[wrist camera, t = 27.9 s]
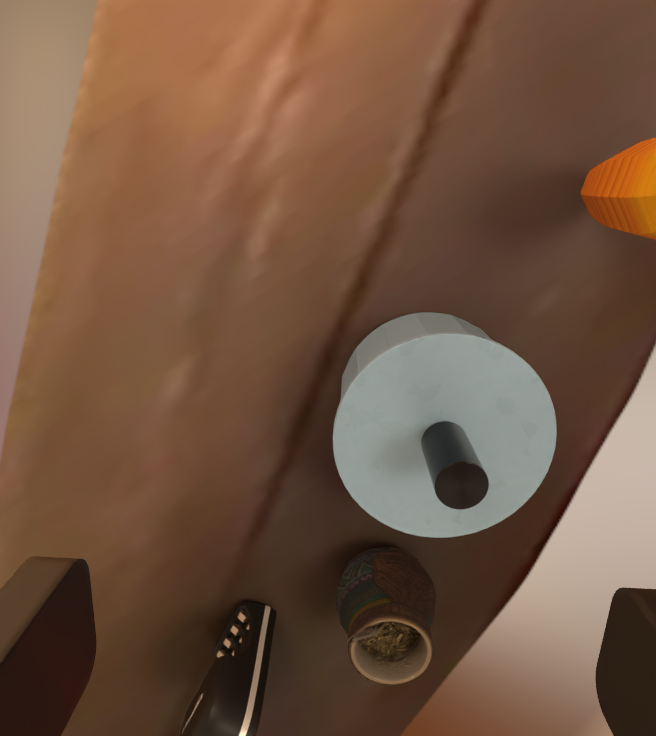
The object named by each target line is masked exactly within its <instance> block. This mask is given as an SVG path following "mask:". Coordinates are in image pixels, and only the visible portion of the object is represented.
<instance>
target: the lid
mask: <svg viewBox="0 0 656 736" xmlns="http://www.w3.org/2000/svg"><path fill="white" fill-rule="evenodd" d="M556 435H557V429H556V417H555V411H554V406H553V404H552V401H551V398H550V395H549V393H548V391H547V389H546V387H545V385H544V383H543V381H542V380H541V379H540V377H539V376H538V375H537V373H536V372H535V371H534V370H533V369H532V368H531V367H530V366H529V364H528V363H527V362H526V361H525V360H523V359H522V358H521V357H520V356H518V355H517V354H516V353H515V352H513V351H512V350H510V349H509V348H507V347H505V346H503V345H501V344H500V343H498V342H495V341H493V340H490V339H487V338H485V337H481V336H477V335H473V334H468V333H459V332H438V333H431V334H424V335H420V336H417V337H413V338H409V339H407V340H405V341H402V342H400V343H397V344H395V345H393V346H391V347H390V348H388V349H386V350H384V351H383V352H381V353H380V354H378V355H377V356H376V357H374V358H373V359H372V360H370V361H369V362H368V363H367V364H366V365H365V366H364V367H363V368H362V369H361V370H360V371H359V372H358V374H357V375H356V376H355V377H354V379H353V380H352V381H351V382H350V384H349V386H348V387H347V389H346V391H345V393H344V394H343V396H342V399H341V401H340V404H339V406H338V409H337V413H336V416H335V420H334V428H333V452H334V458H335V463H336V466H337V469H338V472H339V475H340V477H341V479H342V481H343V484H344V486H345V487H346V489H347V490H348V492H349V493H350V495H351V496H352V498H353V499H354V500H355V501H356V502H357V503H358V504H359V505H360V507H361V508H363V509H364V510H365V511H366V512H367V513H368V514H370V515H371V516H372V517H374V518H375V519H377V520H378V521H380V522H381V523H383V524H385V525H387V526H389V527H391V528H393V529H396V530H399V531H402V532H404V533H408V534H412V535H417V536H423V537H432V538H447V537H456V536H462V535H467V534H471V533H475V532H478V531H480V530H483V529H486V528H489V527H491V526H493V525H495V524H497V523H499V522H501V521H502V520H504V519H505V518H507V517H508V516H510V515H512V514H513V513H514V512H515V511H516V510H518V509H519V508H520V507H521V506H523V505H524V503H525V502H526V501H527V500H528V499H529V498H530V497H531V496H532V495H533V494H534V492H535V491H536V490H537V488H538V487H539V486H540V484H541V482H542V481H543V479H544V477H545V475H546V474H547V471H548V469H549V466H550V464H551V461H552V458H553V454H554V450H555V445H556Z"/></svg>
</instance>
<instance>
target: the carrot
mask: <svg viewBox="0 0 656 736" xmlns="http://www.w3.org/2000/svg"><path fill="white" fill-rule="evenodd" d="M580 194H581V196H582V198H583V201H584V203H585V205H586V207H587V210H588V212H589V214H590V216H591V217H593V218H594V219H595V220H596V221H598V222H599V223H601V224H603V225H605V226H606V227H610V228H613V229H617V230H620V231H624V232H628V233H631V234H635V235H638V236H642V237H646V238H650V239H654V240H656V138H653V139H649V140H646V141H642V142H640V143H638V144H636V145H634V146H632V147H630V148H628V149H626V150H624V151H622V152H621V153H619V154H617V155H615V156H614V157H612V158H610V159H608V160H606V161H605V162H603V163H601V164H599V165H598V166H596V167H595V168H593V169H591V170H590V171H589V173H588V175H587V177H586V179H585V182H584V185H583V187H582V190H581V193H580Z"/></svg>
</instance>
